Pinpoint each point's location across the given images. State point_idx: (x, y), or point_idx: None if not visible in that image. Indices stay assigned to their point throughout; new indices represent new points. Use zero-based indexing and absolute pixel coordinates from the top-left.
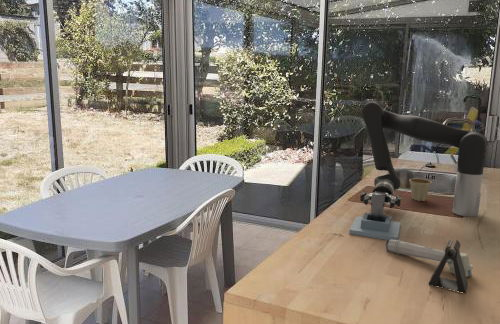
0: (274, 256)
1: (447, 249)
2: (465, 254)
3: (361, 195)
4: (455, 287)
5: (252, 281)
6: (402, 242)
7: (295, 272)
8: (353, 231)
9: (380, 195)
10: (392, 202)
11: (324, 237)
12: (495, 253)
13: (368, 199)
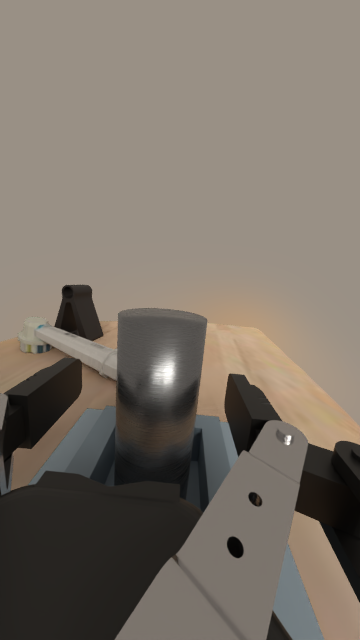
0: (280, 351)
1: (84, 293)
2: (29, 318)
3: (349, 445)
4: (75, 333)
5: (256, 332)
6: (107, 349)
7: (236, 339)
8: (228, 425)
9: (152, 308)
10: (57, 367)
11: (278, 401)
12: None
13: (244, 432)
